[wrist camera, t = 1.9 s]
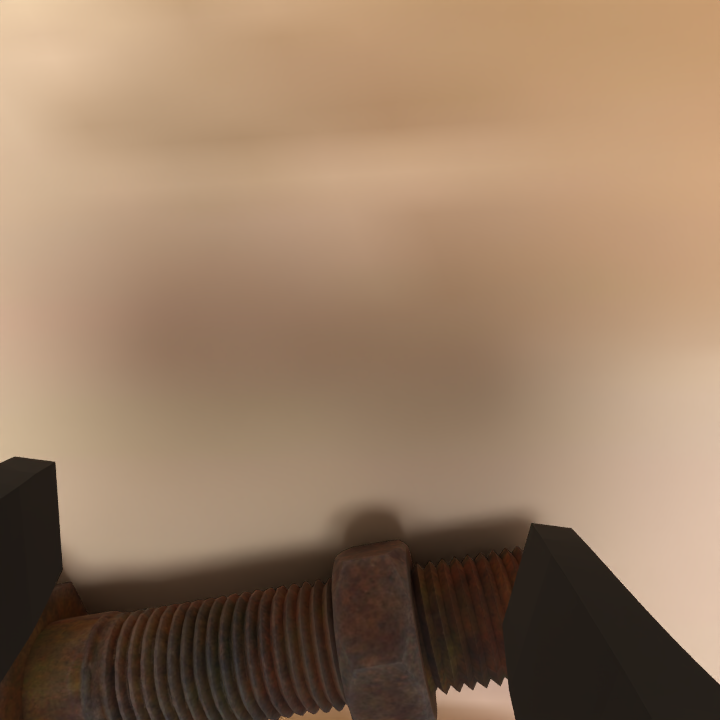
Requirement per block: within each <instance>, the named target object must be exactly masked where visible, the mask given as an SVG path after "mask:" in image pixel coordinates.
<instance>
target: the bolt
mask: <svg viewBox="0 0 720 720" xmlns="http://www.w3.org/2000/svg"><path fill="white" fill-rule="evenodd" d="M522 554H523V551H522V550H521V549H520V548H519V547H518V546H516V547H515V549H514V551H513V552H512V554H511V553H510V552H509V551H508V550H507V549H506V548H504V550H503V551H502V553H501V554H500V556H498V555H497V554H496V553H495V552H494V551H493V550H492V551H491V553H490V555H489V556H488V558H486V557H485V556H484V555H483V554H482V553H481V552H480V553H479V554H478V556H477V557H476V559H475V560H474V561H473V560H472V559H471V558H470V556H469V555H468V554H467V555H466V557H465V558H464V560H463V561H462V563H460V562H459V561H458V560H457V559H456V558H455V557H454V558H453V559H452V561H451V562H450V564H449V565H448V564H447V563H446V562H445V561H444V560H443V559H441V561H440V562H439V564H438V565H437V567H435V566H434V565H433V564H432V563H431V562H430V561H429V562H428V564H427V565H426V567H425V568H424V569H423V568H422V567H421V566H420V565H419V564H418V563H416V565H415V566H414V567H413V563H412V559H411V554H410V551H409V548H408V546H407V545H406V544H405V543H403V542H402V541H400V540H391V541H385V542H379V543H373V544H367V545H362V546H356V547H351V548H349V549H346V550H344V551H343V552H341V553H340V554H338V555H337V556H336V558H335V560H334V566H333V572H332V578H331V577H330V578H329V579H328V581H327V582H326V584H325V585H324V584H323V583H322V582H321V581H320V580H319V579H318V580H316V582H315V584H314V586H313V587H312V586H311V585H310V584H309V583H308V582H306V581H305V582H304V583H303V585H302V587H301V589H300V588H299V586H298V585H296V584H292V585H291V586H290V588H289V590H288V589H287V588H286V587H285V586H284V585H283V586H281V587H279V588H277V590H276V591H275V590H274V589H273V588H269V589H267V590H265V591H264V592H263V591H261V590H255V591H254V593H253V594H252V593H249V592H243V593H242V594H241V596H239V595H238V594H237V593H236V594H232V595H230V596H228V598H227V597H226V596H221V597H218V598H216V599H214V598H208V599H206V600H204V601H203V600H196V601H194V602H192V603H191V602H189V601H188V602H185V603H182V604H172V605H170V606H166V605H165V606H161V607H159V608H147V609H146V610H137V611H134V612H123V613H122V612H119V611H109V612H103V613H96V614H90V615H88V614H87V612H86V610H85V608H84V606H83V603H82V601H81V599H80V597H79V595H78V593H77V591H76V589H75V587H74V585H73V583H71V582H68V583H62V584H56V585H55V587H54V589H53V591H52V593H51V595H50V598H49V600H48V602H47V604H46V606H45V608H44V610H43V612H42V614H41V616H40V618H39V620H38V622H37V624H36V626H35V628H34V630H33V632H32V634H31V635H30V637H29V639H28V640H27V642H26V644H25V645H24V647H23V648H22V650H21V652H20V653H19V655H18V656H17V658H16V659H15V661H14V663H13V664H12V666H11V667H10V669H9V670H8V672H7V674H6V675H5V677H4V678H3V680H2V681H1V683H0V720H268V719H271V720H278V719H279V718H280V716H284V717H287V718H290V717H291V716H292V715H293V714H294V713H296V714H298V715H302V716H303V715H304V713H305V712H306V711H308V712H310V713H312V714H316V713H317V712H318V710H319V708H320V709H321V710H322V711H323V712H326V713H327V712H329V711H330V709H331V708H332V706H333V707H334V708H335V709H336V710H338V711H341V710H342V709H343V707H344V706H345V704H347V705H348V707H349V710H350V713H351V716H352V719H353V720H437V703H436V690H437V688H439V689H441V690H442V691H443V692H444V693H445V694H446V695H447V693H448V690H449V688H450V686H452V687H454V688H455V689H456V690H457V691H458V692H460V691H461V688H462V686H463V684H464V683H465V684H466V685H467V686H468V687H469V688H471V689H472V690H474V687H475V685H476V682H479V683H480V684H481V685H483V686H484V687H486V688H487V687H488V684H489V682H490V679H492V680H493V681H494V682H496V683H497V684H498V685H500V686H501V684H502V682H503V679H504V677H506V678H507V679H508V676H507V667H506V658H505V647H504V637H503V626H502V624H503V620H504V617H505V614H506V610H507V607H508V603H509V600H510V596H511V593H512V589H513V586H514V582H515V579H516V575H517V572H518V568H519V565H520V561H521V558H522Z"/></svg>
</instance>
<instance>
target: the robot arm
mask: <svg viewBox="0 0 720 720" xmlns="http://www.w3.org/2000/svg"><path fill="white" fill-rule="evenodd" d="M62 569H63V568H62V553H61V539H60V524H59V509H58V495H57V480H56V465H55V462H52V461H44V460H37V459H29V458H21V457H13V458H11V459H8V460H6V461H4V462H2V463H0V683H1V681H2V680H3V678H4V677H5V675H6V674H7V672H8V670H9V669H10V667H11V666H12V664H13V663H14V661H15V659H16V658H17V656H18V655H19V653H20V652H21V650H22V648H23V647H24V645H25V644H26V642H27V640H28V639H29V637H30V635H31V634H32V632H33V630H34V628H35V626H36V624H37V622H38V620H39V618H40V616H41V614H42V612H43V610H44V608H45V606H46V604H47V602H48V600H49V598H50V595H51V593H52V591H53V589H54V587H55V585H56V582H57V580H58V578H59V576H60V574H61V572H62ZM502 626H503V637H504V647H505V658H506V667H507V676H508V684H509V692H510V696H511V701H512V706H513V710H514V715H515V719H516V720H720V684H719V683H718V682H716V681H715V680H714V679H713V678H712V677H711V676H710V675H709V674H708V673H707V672H706V671H705V670H704V669H703V668H702V667H701V666H700V665H699V664H698V663H697V662H696V661H695V660H694V659H693V658H692V657H691V656H690V655H689V654H688V653H687V652H686V651H685V650H684V649H683V648H682V647H681V646H680V645H679V644H678V643H677V642H676V641H675V640H674V639H673V638H672V637H671V636H670V635H669V634H668V633H667V631H666V630H665V629H664V628H663V627H662V626H661V625H660V624H659V623H658V622H657V621H656V620H655V619H654V618H653V617H652V616H651V615H650V613H649V612H648V611H647V610H646V609H645V608H644V607H643V606H642V605H641V604H640V603H639V602H638V600H637V599H636V598H635V597H634V596H633V595H632V594H631V593H630V592H629V591H628V590H627V588H626V587H625V586H624V585H623V584H622V583H621V582H620V581H619V580H618V578H617V577H616V576H615V575H614V574H613V573H612V572H611V571H610V570H609V568H608V567H607V566H606V565H605V564H604V563H603V562H602V561H601V560H600V558H599V557H598V556H597V555H596V554H595V553H594V552H593V551H592V550H591V548H590V547H589V546H588V545H587V544H586V543H585V542H584V541H583V540H582V539H581V538H580V537H579V536H578V535H577V533H576V532H575V531H574V530H573V529H572V528H565V527H558V526H550V525H542V524H534V523H531V527H530V530H529V534H528V537H527V541H526V544H525V548H524V551H523V554H522V558H521V561H520V565H519V568H518V572H517V575H516V579H515V582H514V586H513V589H512V593H511V596H510V600H509V603H508V607H507V610H506V614H505V617H504V620H503V624H502Z"/></svg>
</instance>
